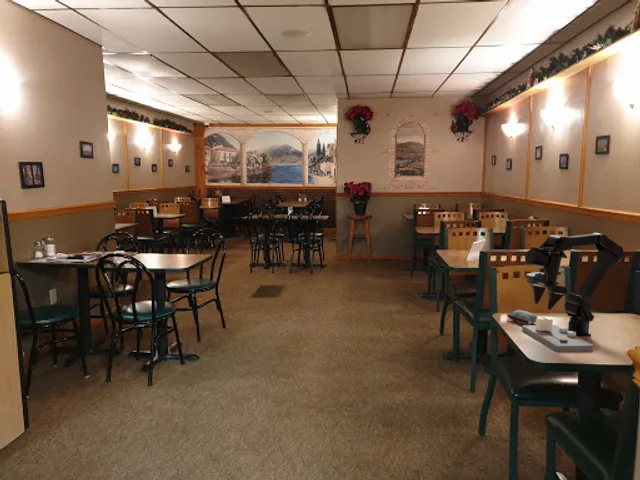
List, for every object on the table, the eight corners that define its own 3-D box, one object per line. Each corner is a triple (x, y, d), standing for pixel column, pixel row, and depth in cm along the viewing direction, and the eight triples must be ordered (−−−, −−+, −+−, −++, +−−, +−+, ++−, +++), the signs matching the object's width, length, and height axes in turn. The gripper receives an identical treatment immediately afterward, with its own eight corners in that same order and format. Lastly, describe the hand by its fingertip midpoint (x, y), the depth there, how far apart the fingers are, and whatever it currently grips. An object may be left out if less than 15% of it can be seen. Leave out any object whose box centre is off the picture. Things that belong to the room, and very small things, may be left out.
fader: (535, 328, 189) (536, 317, 189) (547, 328, 190) (548, 316, 189) (539, 330, 186) (540, 319, 186) (551, 330, 187) (552, 319, 186)
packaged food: (519, 317, 213) (520, 306, 212) (542, 325, 203) (543, 313, 202) (505, 320, 209) (506, 309, 208) (528, 328, 199) (529, 316, 198)
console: (522, 330, 195) (522, 321, 194) (554, 329, 196) (555, 321, 195) (555, 351, 171) (556, 341, 170) (592, 350, 172) (593, 341, 172)
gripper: (519, 260, 194) (511, 297, 195) (545, 268, 175) (535, 309, 177) (545, 264, 195) (537, 301, 196) (573, 273, 176) (563, 313, 178)
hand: (542, 306), depth 187 cm, fingers open, 9 cm apart
